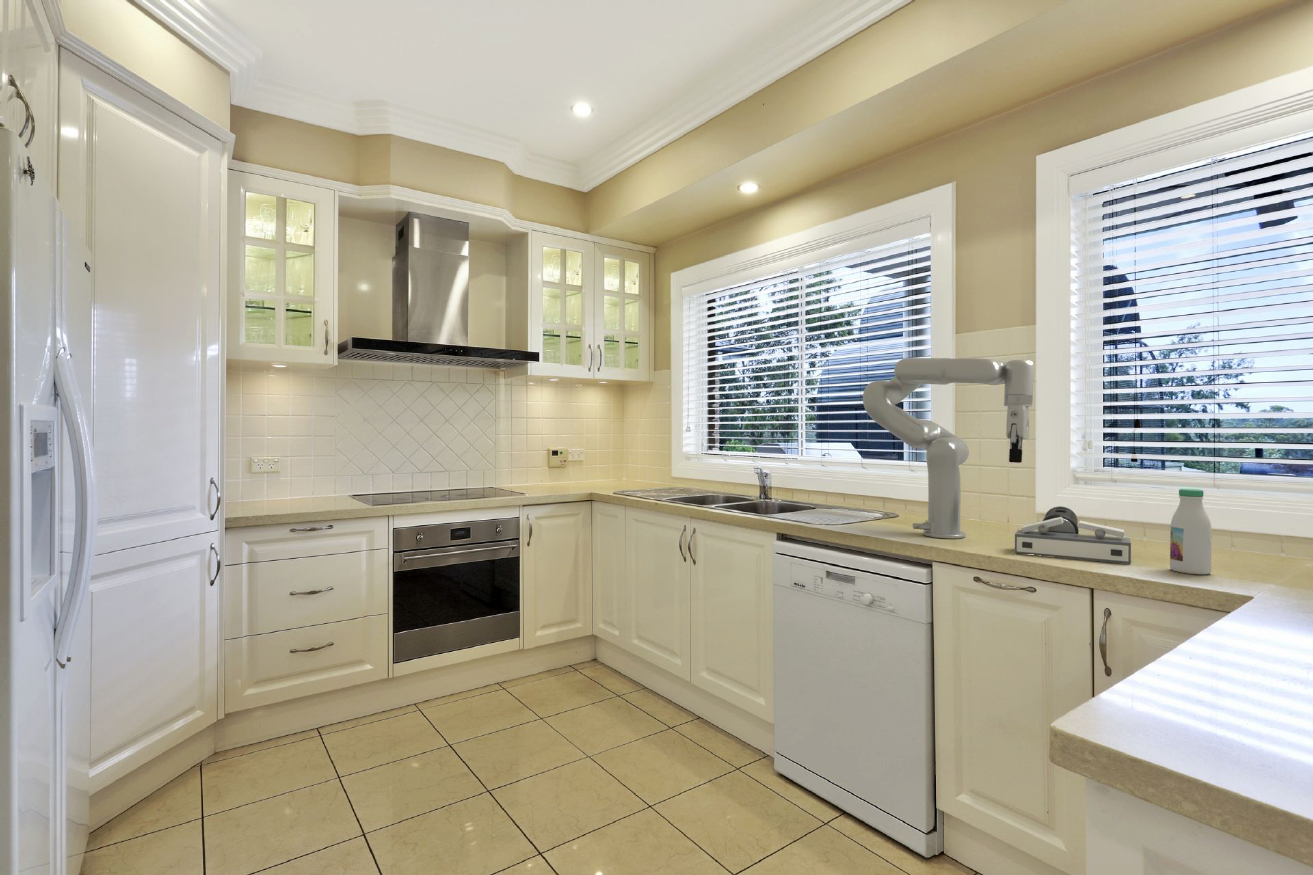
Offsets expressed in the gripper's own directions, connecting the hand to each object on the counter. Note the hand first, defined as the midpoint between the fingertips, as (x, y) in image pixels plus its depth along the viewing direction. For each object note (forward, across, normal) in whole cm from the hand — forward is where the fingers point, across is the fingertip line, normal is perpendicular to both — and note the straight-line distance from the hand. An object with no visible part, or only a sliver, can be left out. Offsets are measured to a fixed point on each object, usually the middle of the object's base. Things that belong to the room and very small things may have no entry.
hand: (1015, 462), depth 196 cm
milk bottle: (+23, -18, -41) cm, 51 cm away
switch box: (+24, -13, -16) cm, 32 cm away
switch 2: (+18, -12, -22) cm, 31 cm away
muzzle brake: (+24, +7, -12) cm, 28 cm away
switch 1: (+18, -12, -10) cm, 24 cm away
